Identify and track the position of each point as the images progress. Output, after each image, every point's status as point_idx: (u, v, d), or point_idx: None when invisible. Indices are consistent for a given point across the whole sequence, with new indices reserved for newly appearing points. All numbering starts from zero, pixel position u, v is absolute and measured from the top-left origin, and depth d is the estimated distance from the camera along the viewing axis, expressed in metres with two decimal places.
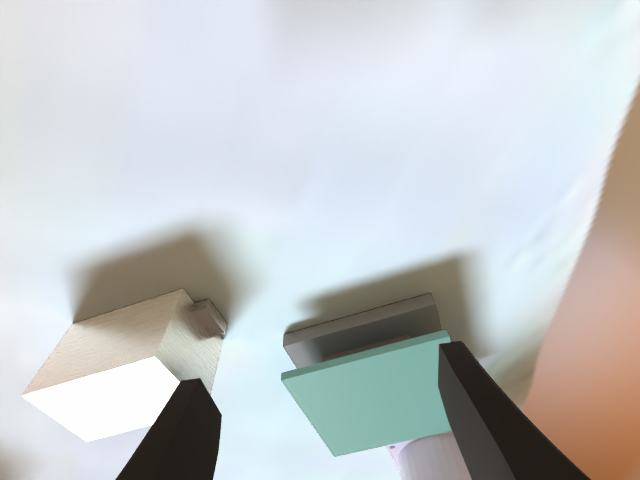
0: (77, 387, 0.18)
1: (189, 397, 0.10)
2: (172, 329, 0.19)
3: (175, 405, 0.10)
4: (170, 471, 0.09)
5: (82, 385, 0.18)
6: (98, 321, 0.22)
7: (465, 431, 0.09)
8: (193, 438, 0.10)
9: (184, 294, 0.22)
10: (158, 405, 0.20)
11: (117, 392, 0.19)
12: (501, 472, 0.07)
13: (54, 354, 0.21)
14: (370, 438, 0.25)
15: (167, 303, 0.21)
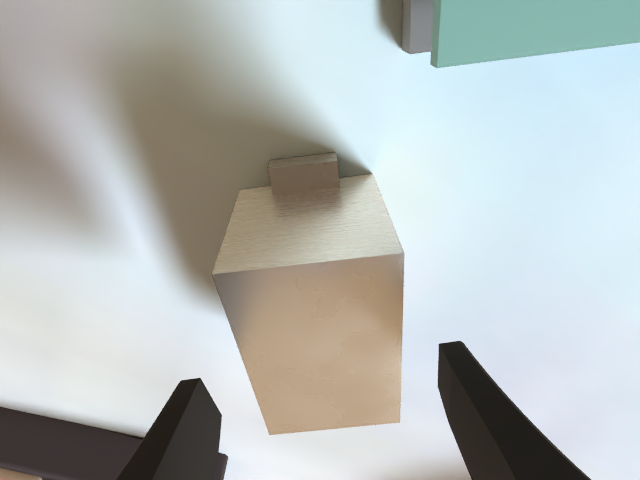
0: (269, 385, 0.12)
1: (189, 397, 0.10)
2: (240, 228, 0.11)
3: (175, 405, 0.10)
4: (170, 471, 0.09)
5: (265, 379, 0.12)
6: None
7: (465, 431, 0.09)
8: (193, 438, 0.10)
9: (246, 191, 0.13)
10: (351, 317, 0.10)
11: (293, 351, 0.11)
12: (501, 472, 0.07)
13: None
14: None
15: None
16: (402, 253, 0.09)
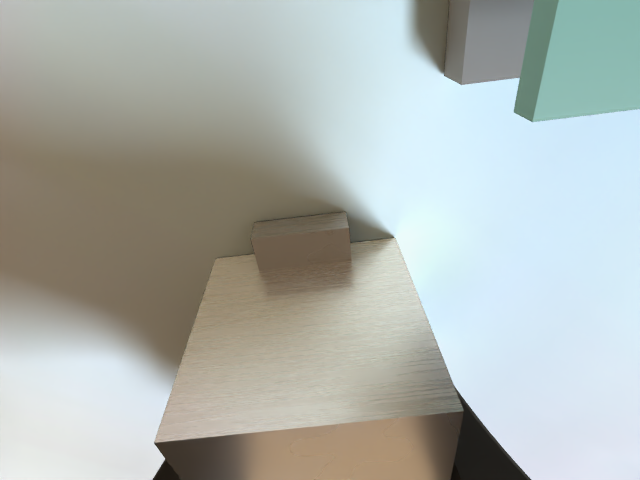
0: None
1: None
2: (209, 337, 0.08)
3: None
4: None
5: None
6: None
7: None
8: None
9: (223, 262, 0.10)
10: None
11: None
12: (454, 478, 0.07)
13: None
14: None
15: None
16: (462, 411, 0.06)
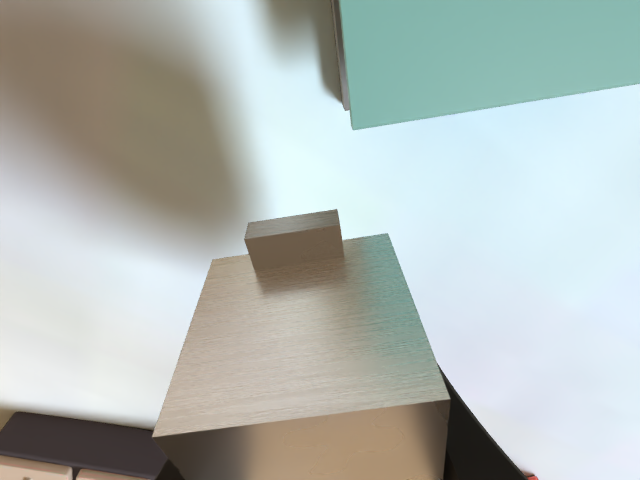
0: None
1: None
2: (205, 336, 0.08)
3: None
4: None
5: None
6: None
7: None
8: None
9: (220, 263, 0.10)
10: (368, 471, 0.07)
11: None
12: (452, 478, 0.07)
13: None
14: None
15: None
16: (448, 400, 0.06)
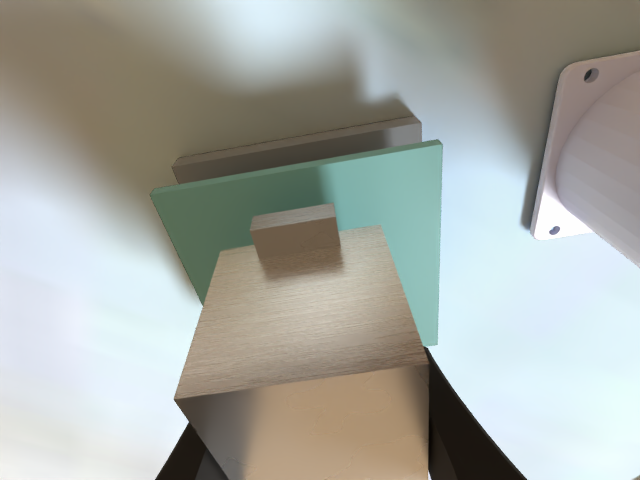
0: None
1: None
2: (216, 316, 0.09)
3: None
4: (211, 466, 0.08)
5: None
6: None
7: None
8: None
9: (227, 253, 0.11)
10: (362, 431, 0.08)
11: (291, 467, 0.09)
12: (451, 478, 0.07)
13: None
14: None
15: None
16: (427, 364, 0.07)
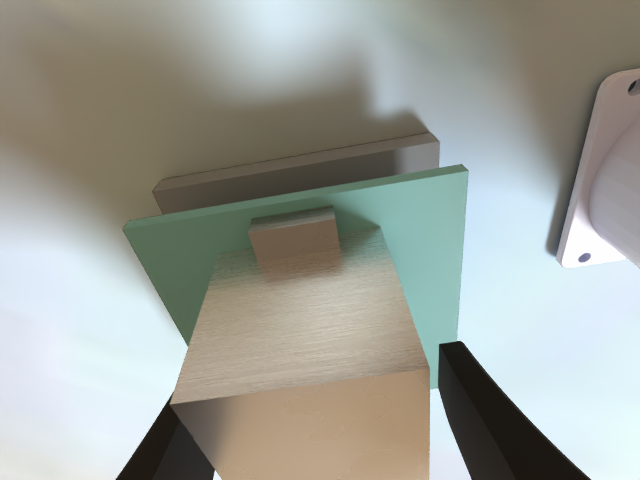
0: None
1: None
2: (214, 320, 0.09)
3: None
4: (170, 471, 0.09)
5: None
6: None
7: (465, 431, 0.09)
8: None
9: (226, 256, 0.11)
10: (361, 437, 0.08)
11: (290, 473, 0.09)
12: (501, 472, 0.07)
13: None
14: None
15: None
16: (428, 369, 0.07)
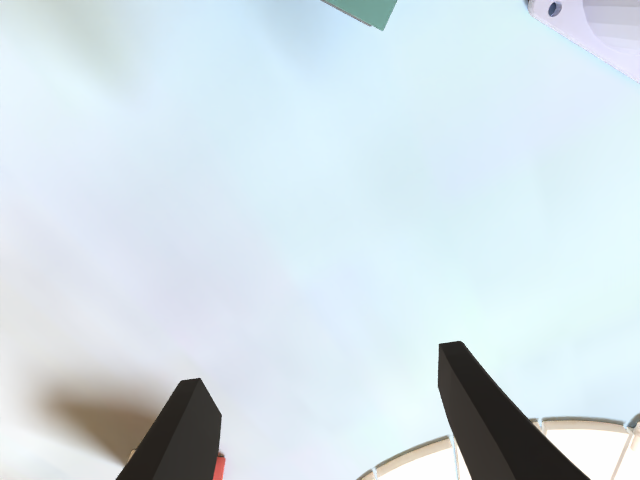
0: None
1: (189, 397, 0.10)
2: None
3: (175, 405, 0.10)
4: (170, 471, 0.09)
5: None
6: None
7: (465, 431, 0.09)
8: (193, 438, 0.10)
9: None
10: None
11: None
12: (501, 472, 0.07)
13: None
14: None
15: None
16: None
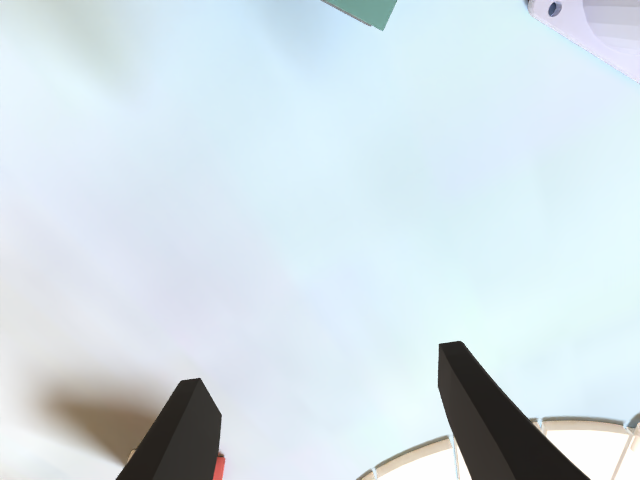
0: None
1: (189, 397, 0.10)
2: None
3: (175, 405, 0.10)
4: (170, 471, 0.09)
5: None
6: None
7: (465, 431, 0.09)
8: (193, 438, 0.10)
9: None
10: None
11: None
12: (501, 472, 0.07)
13: None
14: None
15: None
16: None
